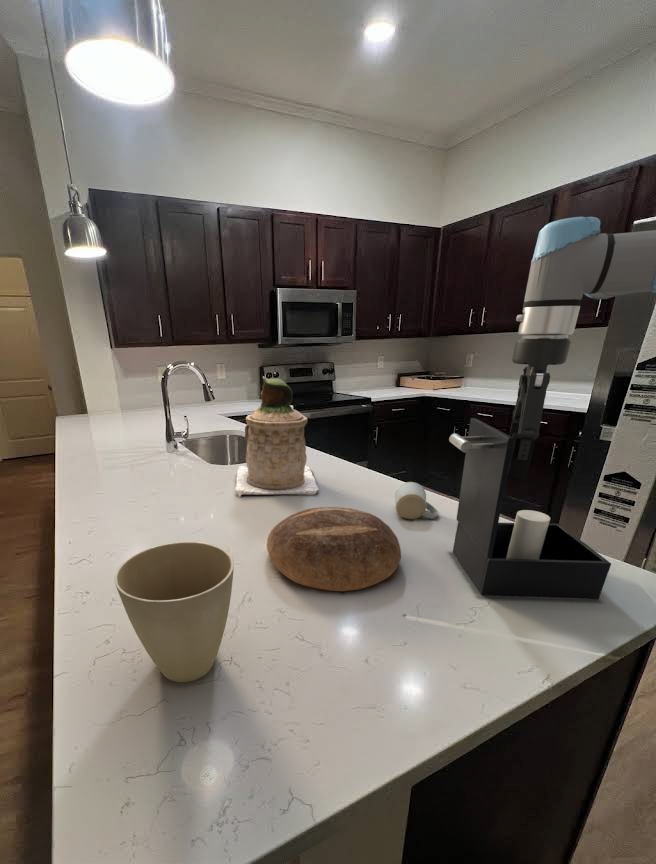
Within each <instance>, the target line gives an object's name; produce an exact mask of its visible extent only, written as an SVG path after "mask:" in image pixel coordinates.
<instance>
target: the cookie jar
mask: <svg viewBox="0 0 656 864" xmlns="http://www.w3.org/2000/svg"><path fill="white" fill-rule="evenodd" d="M262 380H263V384H262V390H261V393H260V398H261V403H260V406H259V407H258V408H257V409H256V410H255V411H254V412H253V413H250V414H248V415H247V416H246V417H245V423H246V424H245V426H244V440H245V442H246V454H245V462H246V465H245V466H243V465H239V466H238V469H237V472H236V478H235V479H236V481H235V482H236V485H235V487H234V490H235V492H236V493H237V495H238V497H239V498H242V495H255V496H256V495H257V496H259V495H261V496H262V495H299V496H300V495H302V496H303V495H307V496H308V495H309V496H311V495H316V494H317V492H318V491H319V486H318V485H317V484H318V483H316V482H317V481H316V479H315V477H314V476H313V475H314V474H313V473H312V471H311V467H310V466H308V465H306V464H307V459H308V458H307V457H308V456H307V445H306V438H305V427H306V425H307V424H308V422H309V421H308V418H307V417H306V416H305V415H303V414H302V413H301V412H300V411H298V410H296V409H294V408H293V407H292V406H291V404H292V403H293V398H294V397H293V395H294V393H293V390H292V387H290V386H289V385H288V384H287V383H286V382H285V380H283V379H281V378H278V377H275V378H267V377H265V376H262Z"/></svg>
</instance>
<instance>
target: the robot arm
mask: <svg viewBox="0 0 656 864" xmlns="http://www.w3.org/2000/svg"><path fill="white" fill-rule="evenodd" d="M650 292H651V293H654V294H655V293H656V229H653V230H641V231H632V232H631V231H630V232H620V233H603V232H602V233H601V220H600V218H598V217H595V216H573V217H567V218H562V219H558V220H554V221H551V222H549V223H547V224H546V225H544V227H542V228H541V230H539V232H538V236H537V240H536V244H535V247H534V252H533V256H532V259H531V261H530V268H529V273H528V279H527V283H526V290H525V294H524V300H523V306H522V311H521V312H522V314H517V316H516V318H515V321H516V322H520V324H519V325H518V332H517V334H518V335H519V336H521V338H520V339H519V338H517V341H515V344H514V349H513V353H512V359H511V361H512V363H514V364H516V365H527V366H524V368H523V371H522V372H523V374H520V376H519V381H518V389H517V398H516V402H515V405H514V410H513V411H512V422H511V425H510V431H509V434H508V435H509V436H511V437H513V438H514V442H513V447H512V452H511V458H510V463H509V468H508V474H507V478H509V479H510V478H511V479H520V480H527V478H528V473H529V469H530V465H531V461H532V457H533V452H534V448H535V443H536V440H537V439H538V438H539V437H540V429H541V424H542V417H543V412H544V406H545V401H546V397H547V389H548V387H549V384H550V380H551V374H550V372H547V370H548V366H558V365H564V364H565V363H566V362H567V360H568V356H569V352H570V348H571V343H572V341H571V339H570V338H569V336H571V335H573V334H574V333H575V328H576V325H577V321H578V317H579V313H580V309H581V304H582V299H583V295H584V296H586V297H588V298H590V299H594V300H599V301H600V300H608V299H611V298H613V297H617V296H618V297H619V296H624V295H629V294H635V293H650Z"/></svg>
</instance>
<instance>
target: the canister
mask: <svg viewBox="0 0 656 864" xmlns="http://www.w3.org/2000/svg"><path fill="white" fill-rule="evenodd" d="M550 522H551V517H550V516H549V515H548V514H546V513H543V512H541V511H537V510H531V509H529V510H528V509H521V510H518V511H517V512H516V516H515V519H514V522H513V523H514V527H513V531H512V535H511V539H510V544H509V548H508V552H507V556H506V559H536V560H539V558H540V555H541V551H542V548H543V544H544V540H545V537H546V533H547V530H548V526H549V524H550Z"/></svg>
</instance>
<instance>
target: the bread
mask: <svg viewBox="0 0 656 864" xmlns="http://www.w3.org/2000/svg"><path fill="white" fill-rule="evenodd" d="M266 549H267V553H268V556H269V559H270V561H271V563H272V565H273V567H275V568H276V569H277V570H278V571H279V572H280V573H281V574H282V575H284V576H285V577H286V578H287V579H288V580H291V581H292V582H294V583H296V584H298V585H301V586H304V587H308V588H312V589H319V590H323V591H331V592H349V591H358V590H361V589H366V588H368V587H372V586H374V585H376V584H379V583H381V582H383V581H384V580H386V579H388V578H389V577H391V576H392V574H394V573H395V572H396V570H397V568H398V566H399V564H400V561H401V559H402V554H401V553H402V552H401V551H402V550H401V544H400V542H399V539H398V537H397V535H396V534H395V532H394V531H393V530H392V528H391V527H390V525H388V524H387V523H386V522H384V521H383V520H382V519H381V518H379V517H377V516H376V515H374V514H372V513H370V512H366V511H364V510H359V509H356V508H355V509H354V508H349V507H338V506H337V507H335V506H325V507H321V506H320V507H314V508H308V509H304V510H300V511H298V512H296V513H293V514H291V515H289V516H287V517H286V518H283V519H282V520H281V521H279V522H278V523H277V524H276V525H275V526H274V527H272V528H271V530H270V532H269V534H268V536H267V539H266Z"/></svg>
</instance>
